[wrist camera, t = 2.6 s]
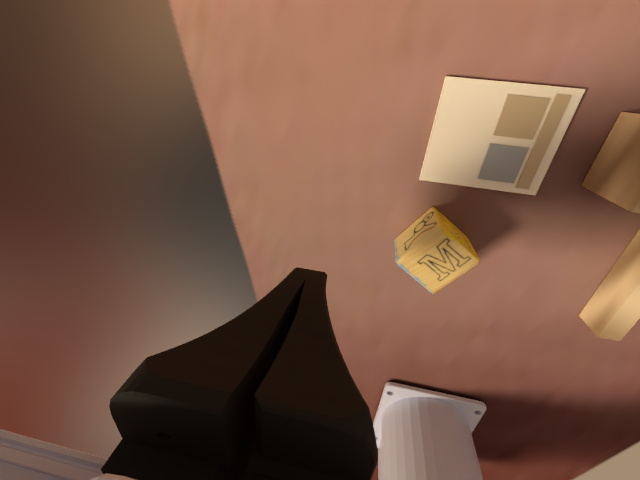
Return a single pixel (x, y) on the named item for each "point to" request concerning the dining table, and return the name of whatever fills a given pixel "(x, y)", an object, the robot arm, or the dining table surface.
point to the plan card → (497, 133)
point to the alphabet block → (434, 251)
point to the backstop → (617, 297)
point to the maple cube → (618, 165)
